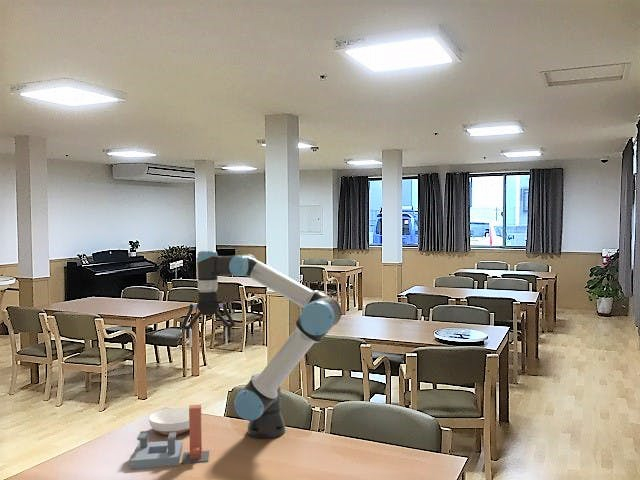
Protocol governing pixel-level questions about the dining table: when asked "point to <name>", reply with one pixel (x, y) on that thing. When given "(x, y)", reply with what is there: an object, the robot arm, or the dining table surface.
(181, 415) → the bowl
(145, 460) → the eye block
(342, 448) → the dining table surface
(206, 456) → the mat
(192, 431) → the orange tabbed bar
